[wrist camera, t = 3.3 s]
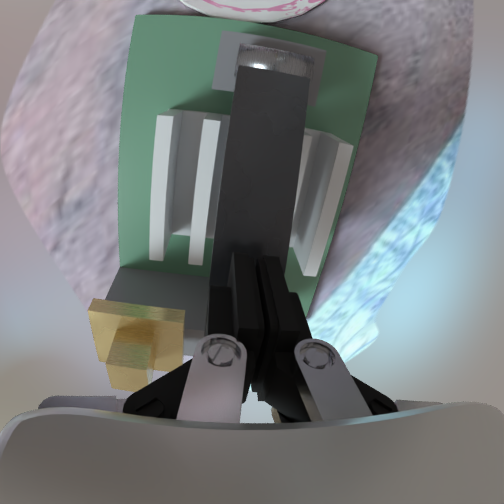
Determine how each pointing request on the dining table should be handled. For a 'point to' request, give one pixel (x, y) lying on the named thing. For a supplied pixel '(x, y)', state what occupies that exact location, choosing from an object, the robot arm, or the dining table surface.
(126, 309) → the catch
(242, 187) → the strap
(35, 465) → the robot arm
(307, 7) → the teacup
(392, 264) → the dining table surface
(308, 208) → the board
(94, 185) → the dining table surface
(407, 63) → the dining table surface
